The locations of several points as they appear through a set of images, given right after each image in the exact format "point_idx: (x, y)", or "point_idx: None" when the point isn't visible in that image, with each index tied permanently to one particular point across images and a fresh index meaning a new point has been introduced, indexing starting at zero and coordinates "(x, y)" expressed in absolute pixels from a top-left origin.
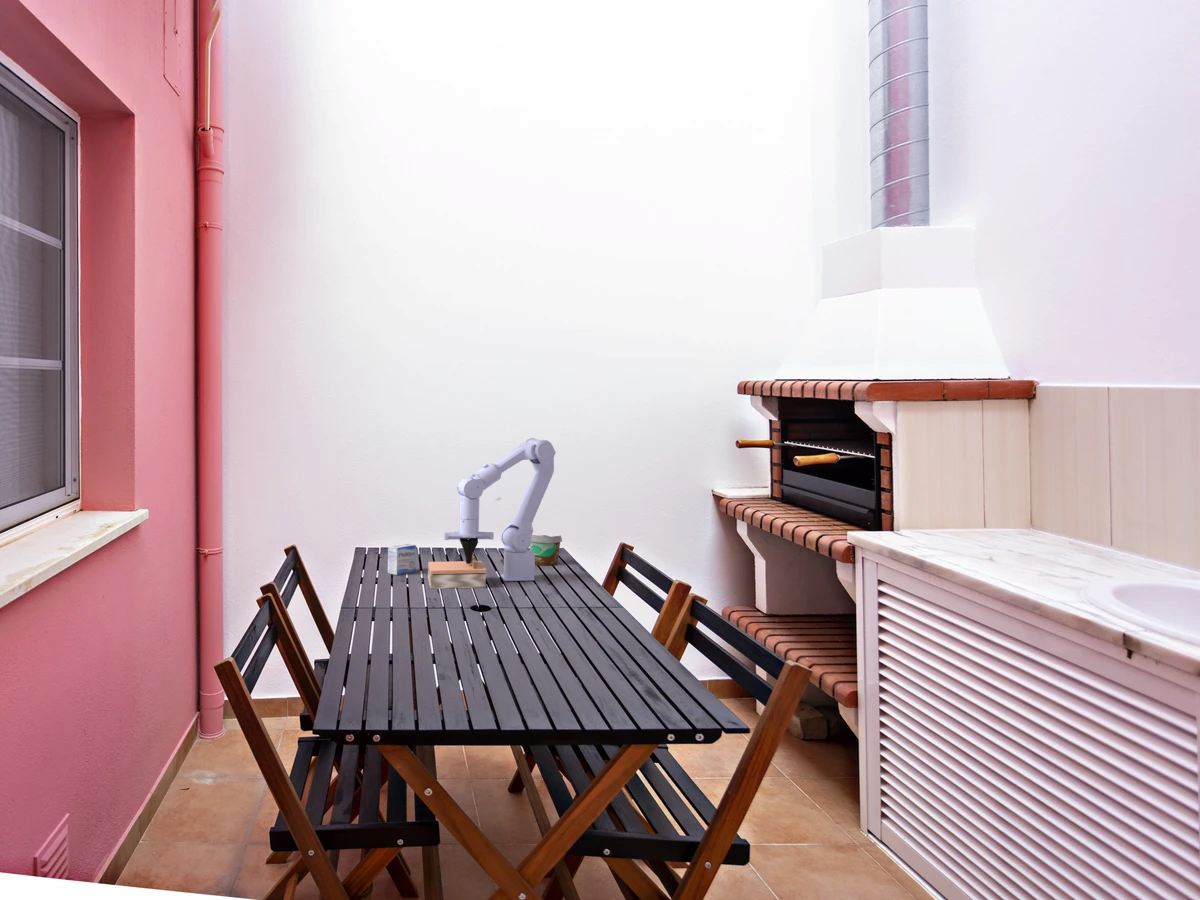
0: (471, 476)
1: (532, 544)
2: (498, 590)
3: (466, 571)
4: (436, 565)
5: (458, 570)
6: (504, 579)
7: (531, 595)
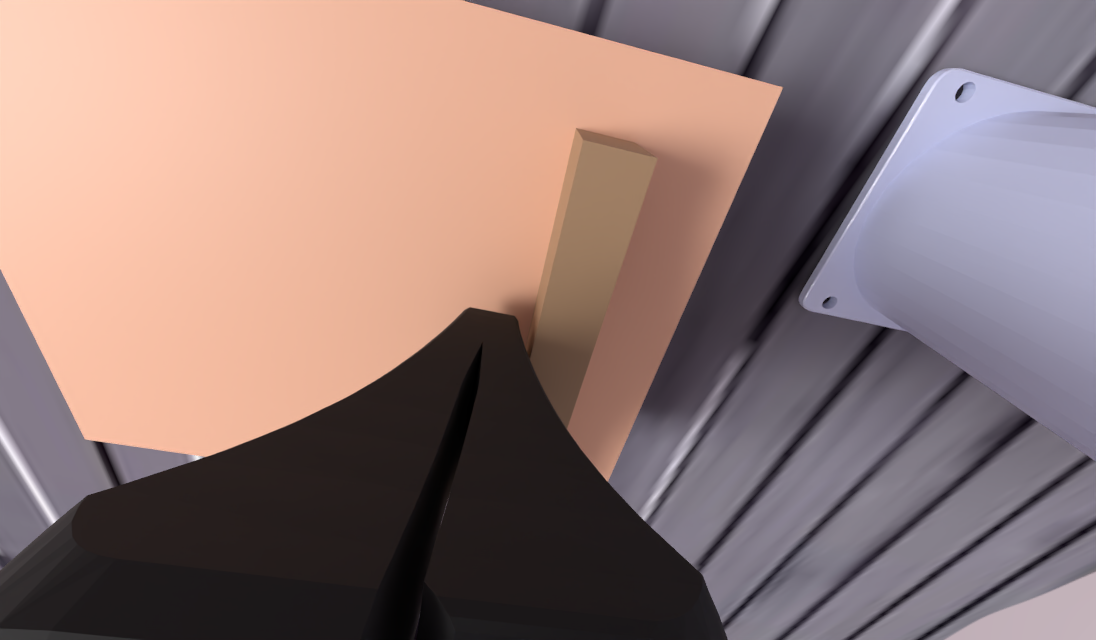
0: None
1: None
2: (623, 475)
3: None
4: (71, 216)
5: None
6: (807, 300)
7: (718, 570)
